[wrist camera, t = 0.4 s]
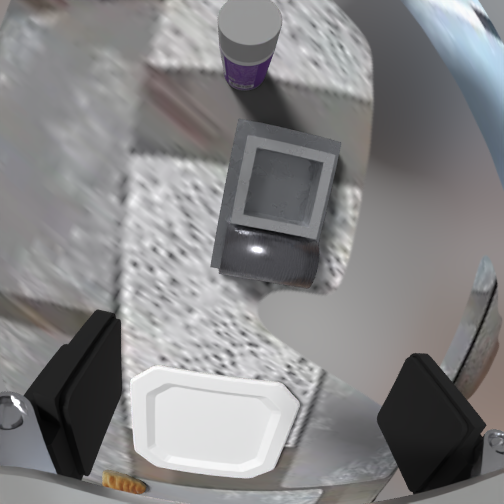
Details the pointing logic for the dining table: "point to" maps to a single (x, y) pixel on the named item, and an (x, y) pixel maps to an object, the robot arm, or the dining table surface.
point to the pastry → (122, 482)
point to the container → (247, 40)
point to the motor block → (274, 204)
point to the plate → (210, 421)
